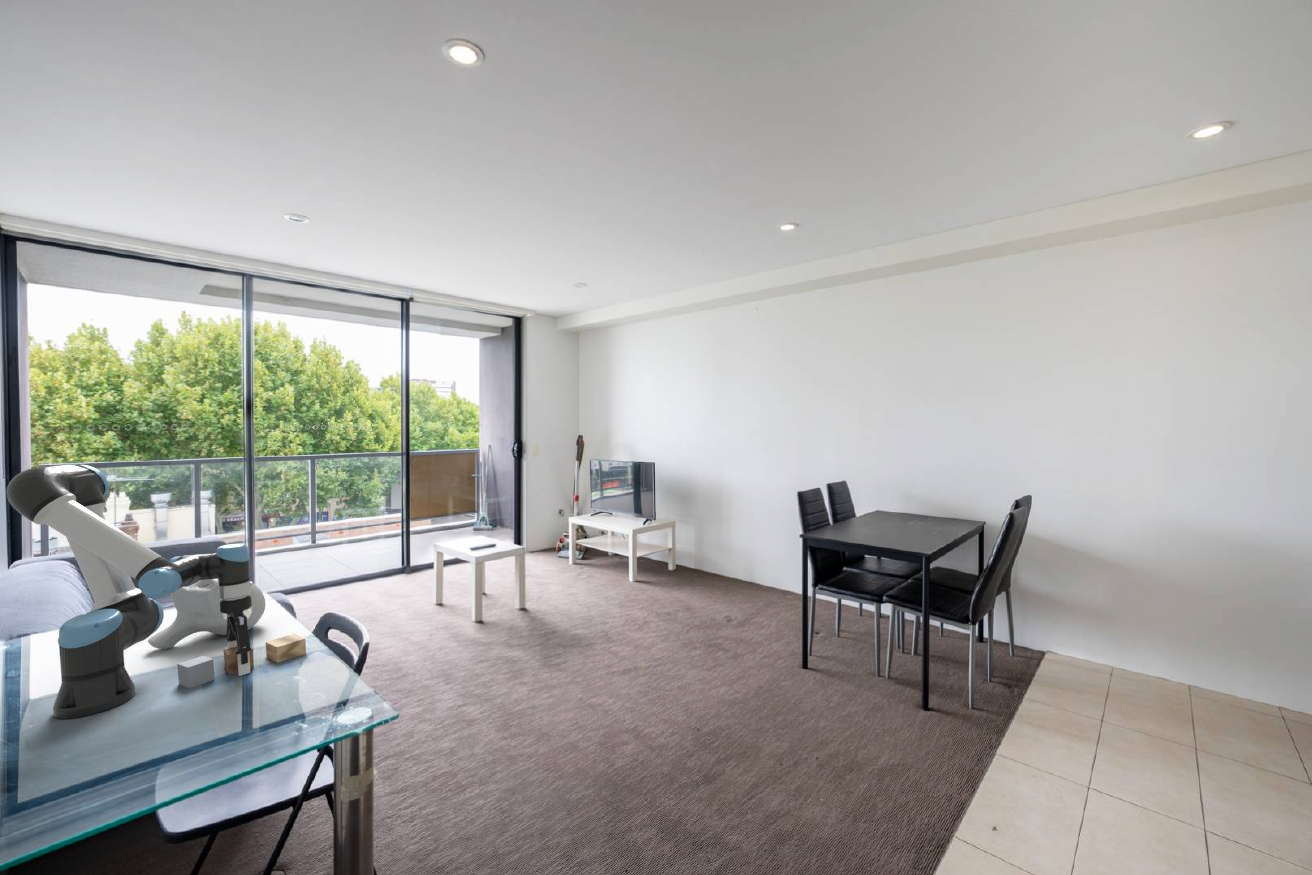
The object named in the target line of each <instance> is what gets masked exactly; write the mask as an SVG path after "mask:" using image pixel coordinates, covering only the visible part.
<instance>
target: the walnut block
mask: <svg viewBox="0 0 1312 875" xmlns="http://www.w3.org/2000/svg"><path fill="white" fill-rule="evenodd" d="M250 647H251V646H250ZM243 648H246V647H243ZM237 651H238V648H237V646H236V647H233V648H229V649H228V648H225V649H223V661H224V663H223V664H224V671H225V672H226V673H227V675H228V676H231V675H234V674H238V657H237V655H236V654H235V653H236V652H237ZM249 655H250V670H252V669H255V665H254V662H255V660H254V648H252V647H251V651H249Z"/></svg>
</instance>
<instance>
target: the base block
mask: <svg viewBox="0 0 1312 875" xmlns="http://www.w3.org/2000/svg"><path fill="white" fill-rule="evenodd" d="M306 646H307V644H306V638H305V637H303V636H301V635H298V634H296V633H291V634H289V635H286V636H282V637H278V638H275V639H271V640H268V641H265V653H266V654H265V656H266V658H267V659H269V660H271V661H273V662H275V663H277V664H278V663H281V662H284V661H285V662H286V661H287V660H291V659H293V658H297V657H299V656H300V657H301V656H303V655H306V654H307V647H306Z"/></svg>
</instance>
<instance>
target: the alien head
mask: <svg viewBox="0 0 1312 875" xmlns="http://www.w3.org/2000/svg"><path fill="white" fill-rule="evenodd" d="M251 582H252V583H253V585H252V586H250V588H251V593H250V594H249V595H251V601H252V613H251V615H250V617H249V618H248V619H247V626H248V631H249V630H250V629H251V628H253V627H254V626H255V625H257V623H258V622H259V621H260V620H261V619H262V616H263V615H264V613H265V610H266V599H265V595H264V594H263V592H262V590H261V589H260V588H259V587H258V586H257V584H255V583H254V582H253V581H252V580H250V583H251ZM218 585H219V582H218V579H208V580H199V581H195V582H194V583H191V584H189V585H187V586H185V587H182V588H180V589H178V590H176V591H175V592H173V593H171V594H169V595H170V598H171V600H172V602H173V604H174V607H175V610H176V617H175V620H173V622H172V623H171V624H170V625H169V626H168V627H166V628H164V629H163V630H161V631H159V632H158V633H156V634H154V635H153V636H150V638H148V640H147V643H148V644H149V645H150V646H151V647H152V648H155V649H158V650H159V649H160V650H169V649H172V648H174V647H175V646H176V645H177V644H178V643H179V642H180V641H182V640H183V639H185V638H187V637H188V636H191V635H193V634H197V633H201V632H205V633H206V632H207V633H211V634H215V635H220V636H226V629H227V622H225V621H224V620H223V618H222V613H221V612H220V600H221V599H220V598H219V588H218Z"/></svg>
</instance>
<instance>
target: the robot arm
mask: <svg viewBox="0 0 1312 875" xmlns="http://www.w3.org/2000/svg"><path fill="white" fill-rule="evenodd" d="M108 489H109V481H108V479H107V477H106V476H105V475H104V473H103V472H102V471H100V470H99V469H98V468H96V467H93V466H91V465H86V464H75V463H73V464H72V463H67V464H63V465H52V466H39V467H38V466H37V467H32V468H27V469H25V470H23V471H21V472H19V473H18V474H16V475H15V476H14V477H13V478H11V480H10V481H9V483H8V484H7V487H6V498H7V500H8V502H9V504H10V505H11V507H12V508H13V509H14V510H16V512H18V513H19V514H20V515H21V516H22V517H24V518H26V519H27V520H29V521H31V522H33V523H34V524H36V525H38V526H39V525H47V527H50V528H52V529H53V530H55V531H56V532H58V533H59V534H62V535H63V536H65V538H66V541H67V542H68V544H69V546H70V549H71V551H72V553H73V555H74V559H75V560H76V562H77V565H78V567H79V569H80V571H81V573H82V576H83V578H84V580H85V582H86V585H87V588H88V590H89V592H90V594H91V596H92V598H93V601H94V604H93V605H92V607H91V609H90V611H88V612H86V613H83V614H79V615H75V616H74V617H72V618H70V619H68V620H66V621H65V622H63V623H62V624H61V626H60V627H59V630H58V638H57V644H58V646H59V647H58V649H59V660H60V661H59V663H60V674H61V675H60V676H61V684H60V686H59V690H58V693H57V695H56V697H55V701H54V703H53V707H52V711H53V713H52V714H53V717H54V718H55V719H60V720H63V719H67V720H68V719H69V720H70V719H77V718H83V717H86V716H91V715H95V714H97V713H98V714H99V713H101V712H104V711H108V710H110V709H112V708H115V707H118V706H121V705H122V704H124V703H127V702H128V701H129V700H131V699H132V698H133V697H134V696H135V695H136V686H135V684H134V681H133V680H132V678H131V676H130V674H129V672H128V671H127V670H126V667H125V653H124V651H126V650H127V649H129V648H131V647H133V646H134V645H136V644H138V643H141V642H143V641H145V640H146V639H147V638H148V639H149V637H151V636H152V635H153V634H154V633H155V632H157V630H158V629H159V628H161V625H162V623H163V620H164V617H165V616H164V609H163V606H162V605H161V603H160V602H159V601H157V600H156V599H153V598H161V597H164V596H167V595H170V594H171V593H173V592H175V591H176V590H178V589H180V588H182V587H188V586H190V585H192V584H194V583H196V582H198V581H199V580H208V579H218V582H219V585H218V588H219V598H220V599H221V600H220V612H221V613H225V614H227V629H226V635H225V637H226V638H227V641H228V642H227V647H228V648H227V649H229V648H233V647H236V646H237V648H238V651H237V652H236V653H235V654H236V655H237V657H238V673H237V675H238V677H242V676H245V675H247V674H251V672H252V671H251V669H250V655H249V651H251V647H250V645H251V641H250V634H249V630H248V626H247V617H246V615H244V613H243V611H244V610H247V609H249V608H250V607H251V606H252V601H251V595H249V594H250V593H251V588H250V586H252V585H253V583H254V582H253V581H251V573H250V572H251V570H250V555H249V547H248V545H246V544H245V543H231V544H224V545H221V546H218V547H217V549H216V552H215V553H202V554H184V555H180V556H179V555H178V556H174V557H172V558H170V559H169V560H168V559H167V558H165V557H163V556H162V555H160V554H158V553H157V552H156V551H154V550H152V549H151V548H149V547H147V545H144V544H143V543H141V542H140V541H138V540H137V539H135V537H132V536H130V535H129V534H128V533H126V532H124V531H122V530H121V529H119V528H118V527H117V526H115V525H113V524H111V523H110V522H109V521H107V520H106V517H105V515H104V513H103V510H104V509H105V507H106V505H107V501H106V499H105V496H106V494H107V491H108ZM133 579H134V580H136V581H137V582H138V588H137V587H136V586H135V584H134V581H133ZM250 581H251V583H250ZM252 582H253V583H252ZM243 647H246V648H243Z"/></svg>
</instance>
